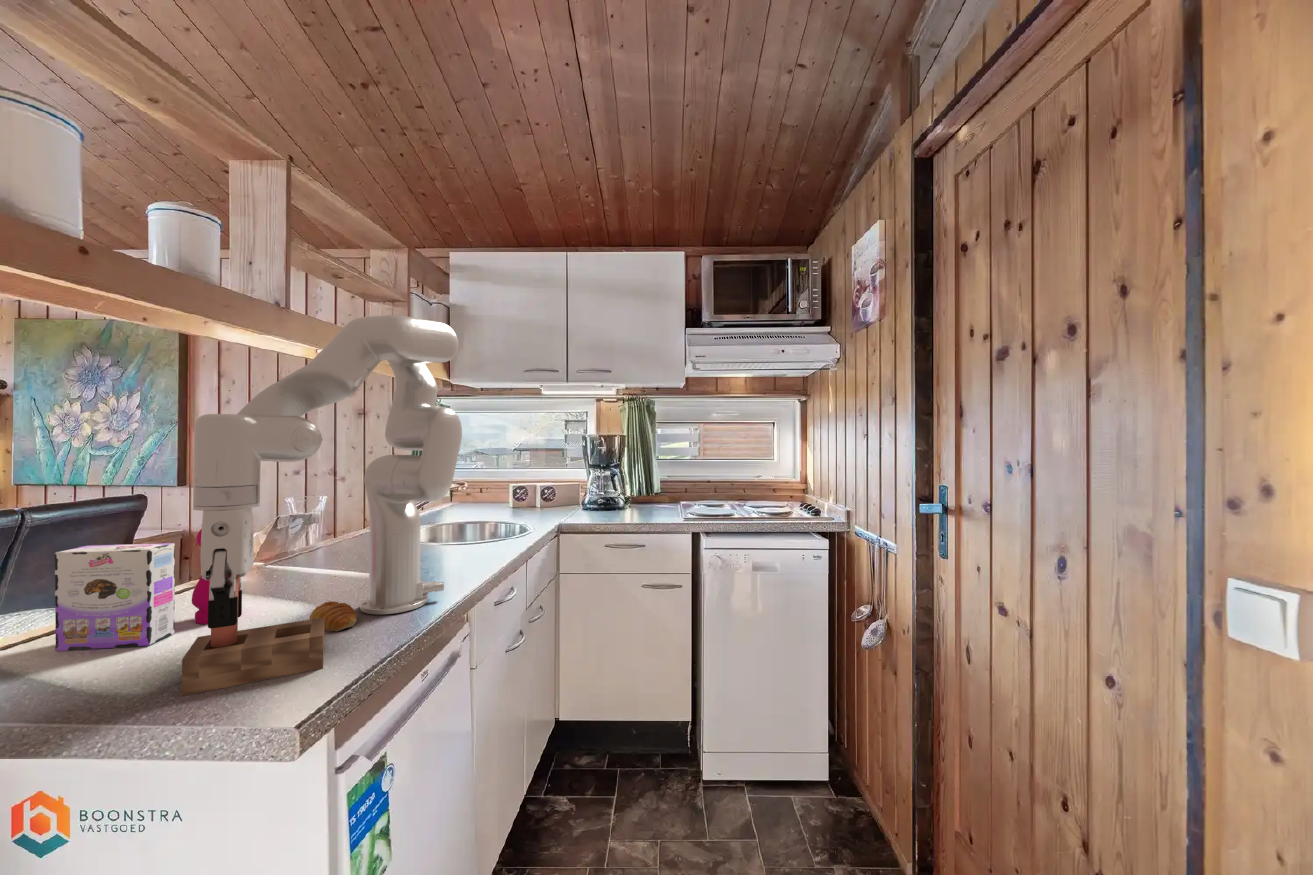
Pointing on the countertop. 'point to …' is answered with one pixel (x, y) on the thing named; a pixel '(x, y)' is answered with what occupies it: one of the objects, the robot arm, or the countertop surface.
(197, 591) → the pepper mill
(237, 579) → the peg
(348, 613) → the pastry
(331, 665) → the countertop surface
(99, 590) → the candy box
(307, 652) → the hole block
